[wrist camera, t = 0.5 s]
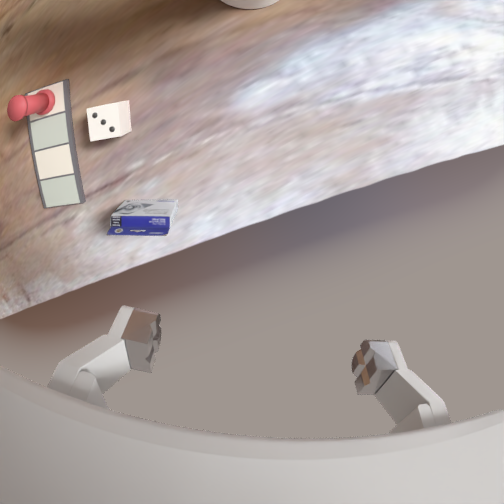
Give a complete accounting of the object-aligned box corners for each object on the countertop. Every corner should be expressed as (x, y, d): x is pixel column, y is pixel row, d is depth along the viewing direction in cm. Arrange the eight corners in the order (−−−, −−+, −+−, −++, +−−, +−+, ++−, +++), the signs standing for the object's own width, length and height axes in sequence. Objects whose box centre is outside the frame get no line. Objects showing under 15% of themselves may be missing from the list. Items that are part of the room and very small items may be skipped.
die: (99, 105, 45) (86, 108, 40) (128, 100, 46) (117, 102, 40) (102, 136, 48) (89, 142, 43) (131, 131, 49) (120, 136, 44)
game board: (27, 93, 41) (24, 94, 40) (68, 79, 41) (66, 79, 40) (46, 206, 54) (43, 208, 53) (85, 201, 55) (83, 203, 54)
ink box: (178, 198, 57) (168, 223, 47) (178, 209, 58) (168, 236, 48) (123, 198, 55) (103, 223, 46) (124, 209, 57) (105, 236, 47)
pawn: (34, 93, 40) (5, 98, 31) (54, 86, 40) (25, 89, 32) (36, 116, 43) (7, 125, 34) (56, 110, 43) (27, 118, 34)
